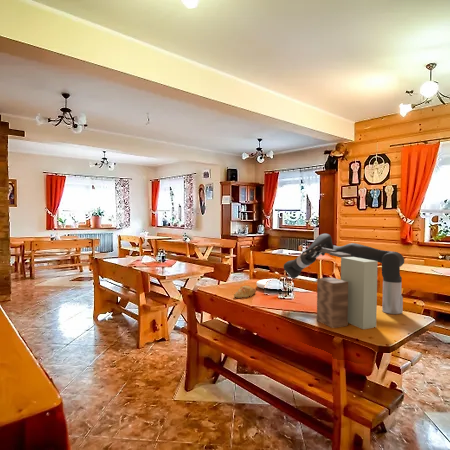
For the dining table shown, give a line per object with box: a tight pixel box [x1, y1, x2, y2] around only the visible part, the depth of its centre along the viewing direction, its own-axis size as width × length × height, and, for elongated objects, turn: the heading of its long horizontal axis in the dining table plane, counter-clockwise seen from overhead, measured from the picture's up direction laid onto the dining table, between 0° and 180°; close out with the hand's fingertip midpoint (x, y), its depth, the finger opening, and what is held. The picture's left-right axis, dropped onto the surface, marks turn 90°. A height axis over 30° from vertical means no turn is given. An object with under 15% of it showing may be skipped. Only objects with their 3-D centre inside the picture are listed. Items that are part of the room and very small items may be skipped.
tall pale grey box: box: [340, 257, 379, 330], centre depth 165 cm, size 16×8×32 cm, turn 21°
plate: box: [256, 278, 295, 289], centre depth 240 cm, size 28×6×27 cm
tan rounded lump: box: [233, 284, 257, 299], centre depth 218 cm, size 21×10×8 cm, turn 136°
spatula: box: [315, 247, 351, 258], centre depth 165 cm, size 22×6×2 cm, turn 21°
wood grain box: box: [316, 276, 349, 329], centre depth 165 cm, size 12×9×22 cm
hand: (323, 246), depth 171 cm, fingers closed on spatula, 2 cm apart
